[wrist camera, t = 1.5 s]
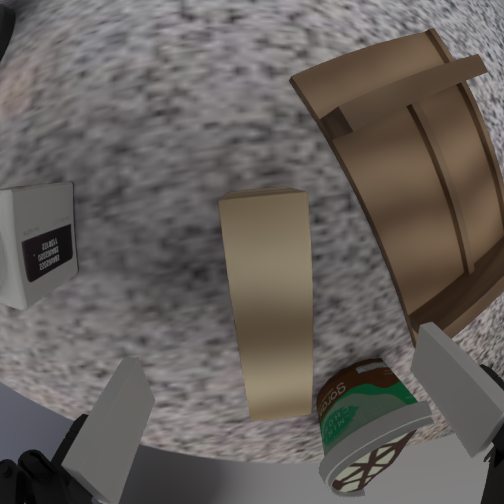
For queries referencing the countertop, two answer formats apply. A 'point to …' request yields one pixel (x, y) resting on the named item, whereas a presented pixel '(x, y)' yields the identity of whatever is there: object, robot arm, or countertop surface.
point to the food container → (365, 424)
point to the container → (35, 242)
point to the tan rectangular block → (271, 296)
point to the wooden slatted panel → (418, 171)
